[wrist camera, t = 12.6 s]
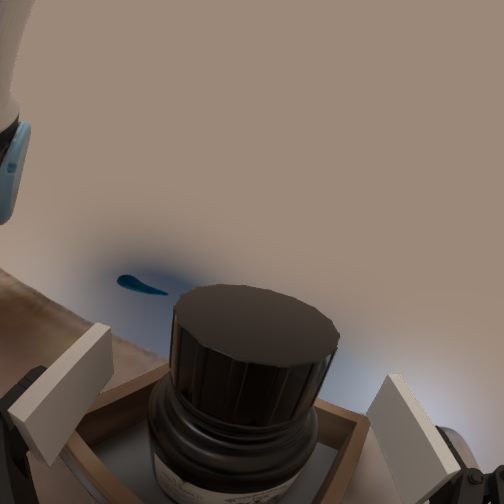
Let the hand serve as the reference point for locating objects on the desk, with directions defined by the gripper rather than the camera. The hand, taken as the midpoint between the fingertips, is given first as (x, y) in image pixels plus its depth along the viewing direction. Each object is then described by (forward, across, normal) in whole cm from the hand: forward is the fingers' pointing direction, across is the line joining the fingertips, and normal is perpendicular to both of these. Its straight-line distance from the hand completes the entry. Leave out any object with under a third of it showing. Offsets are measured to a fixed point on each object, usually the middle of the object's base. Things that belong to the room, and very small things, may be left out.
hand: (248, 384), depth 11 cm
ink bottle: (0, 0, -9) cm, 9 cm away
